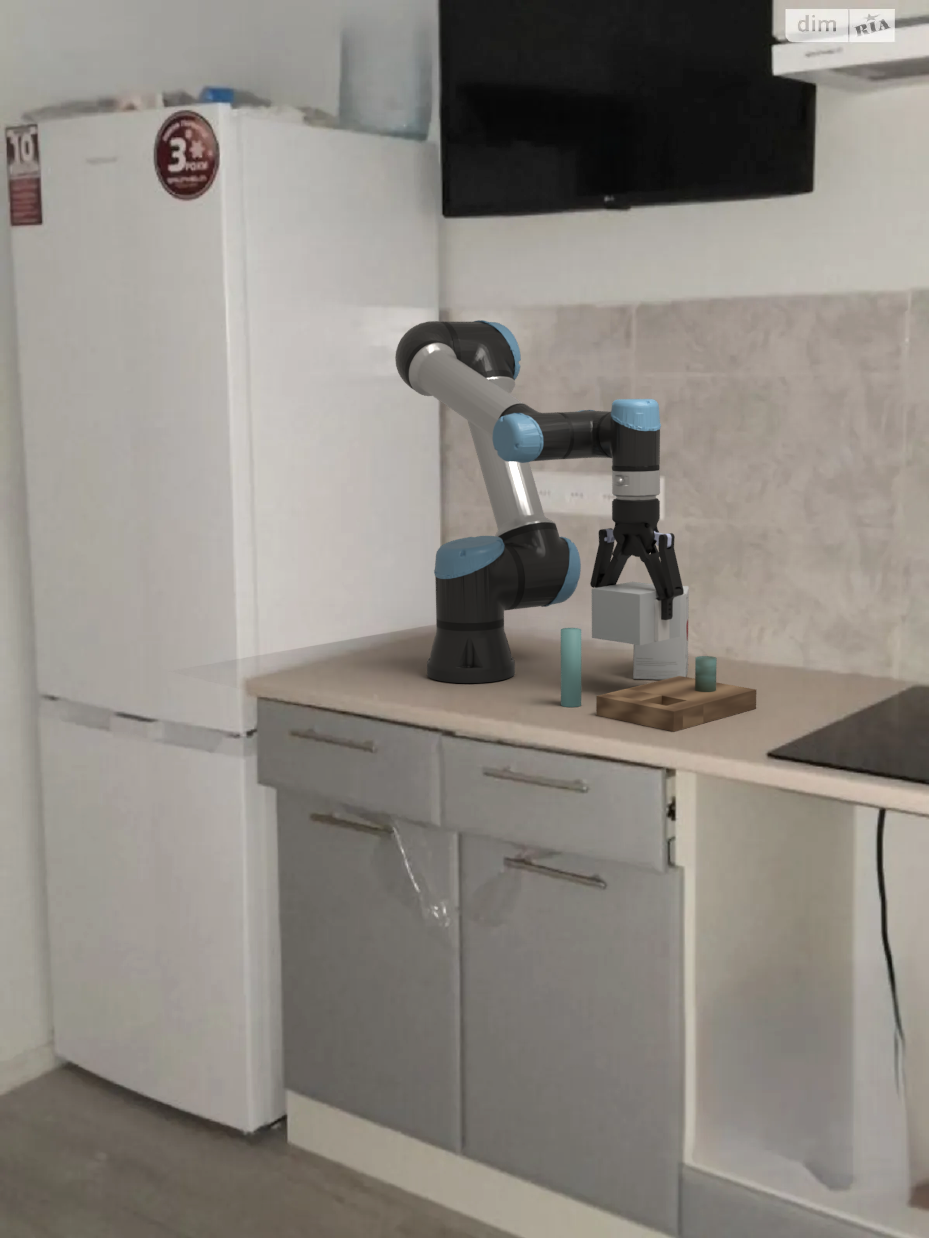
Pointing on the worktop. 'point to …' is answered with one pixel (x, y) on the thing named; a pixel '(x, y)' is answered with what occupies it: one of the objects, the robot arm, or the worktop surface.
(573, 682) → the peg
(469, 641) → the robot arm
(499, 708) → the worktop surface
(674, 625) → the grey square block
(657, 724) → the board
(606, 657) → the worktop surface
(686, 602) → the supplement box
